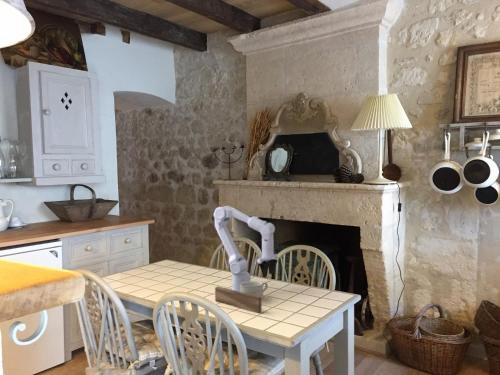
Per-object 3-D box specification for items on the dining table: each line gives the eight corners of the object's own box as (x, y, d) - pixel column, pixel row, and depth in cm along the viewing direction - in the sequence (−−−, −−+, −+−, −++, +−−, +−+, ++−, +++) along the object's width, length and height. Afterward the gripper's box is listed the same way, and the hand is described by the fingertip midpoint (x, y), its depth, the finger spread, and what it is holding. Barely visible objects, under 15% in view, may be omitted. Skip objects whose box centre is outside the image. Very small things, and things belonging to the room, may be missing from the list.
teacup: (243, 304, 181) (243, 287, 180) (237, 297, 191) (237, 281, 191) (272, 301, 185) (272, 284, 184) (265, 294, 195) (265, 278, 195)
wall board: (218, 300, 187) (218, 286, 187) (261, 312, 171) (261, 297, 171) (215, 301, 186) (215, 287, 186) (258, 313, 169) (258, 298, 169)
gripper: (265, 251, 187) (265, 279, 187) (282, 246, 198) (283, 273, 199) (253, 249, 191) (253, 277, 192) (271, 244, 203) (271, 271, 203)
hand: (268, 275), depth 196 cm, fingers open, 5 cm apart
